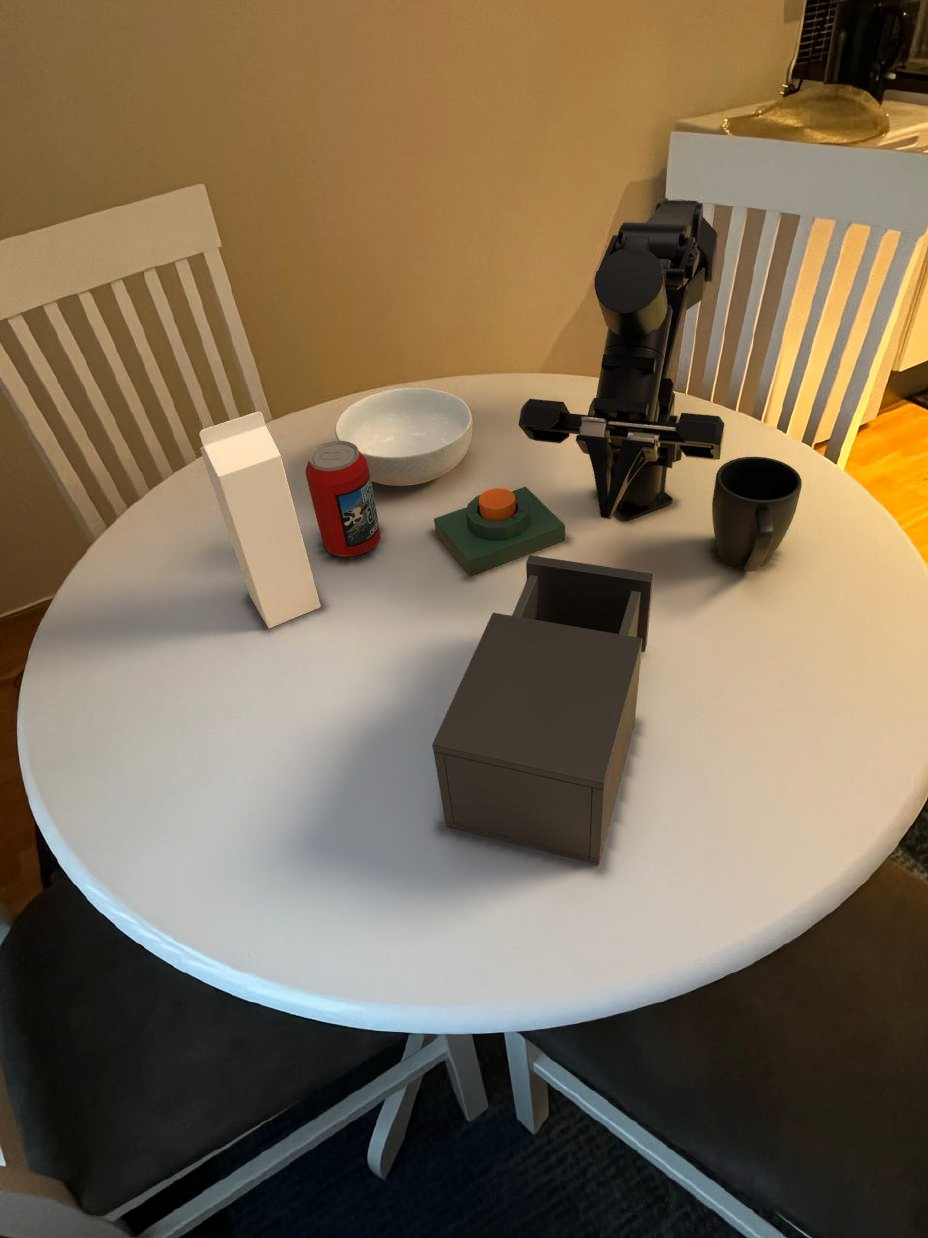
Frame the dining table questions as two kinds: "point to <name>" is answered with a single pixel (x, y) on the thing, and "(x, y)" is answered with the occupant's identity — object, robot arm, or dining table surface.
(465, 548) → the control block
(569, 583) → the drawer
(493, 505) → the button
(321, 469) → the beverage can
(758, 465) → the mug
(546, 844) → the brown storage cube
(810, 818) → the dining table surface
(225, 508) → the milk
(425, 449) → the cereal bowl
